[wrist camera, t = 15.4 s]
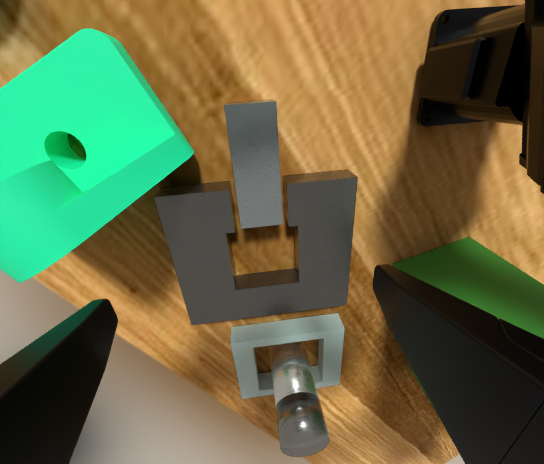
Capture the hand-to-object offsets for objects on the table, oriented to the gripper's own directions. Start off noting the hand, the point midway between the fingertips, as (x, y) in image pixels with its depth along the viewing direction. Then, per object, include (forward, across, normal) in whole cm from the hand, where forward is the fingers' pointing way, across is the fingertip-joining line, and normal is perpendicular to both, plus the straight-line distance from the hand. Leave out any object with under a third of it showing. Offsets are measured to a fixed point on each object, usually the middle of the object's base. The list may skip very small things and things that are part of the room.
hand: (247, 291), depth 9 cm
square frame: (+12, -2, +19) cm, 23 cm away
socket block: (+12, -1, +6) cm, 14 cm away
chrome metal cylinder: (+12, -2, +19) cm, 23 cm away
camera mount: (+13, +10, -4) cm, 17 cm away
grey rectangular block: (+12, -1, -1) cm, 13 cm away
